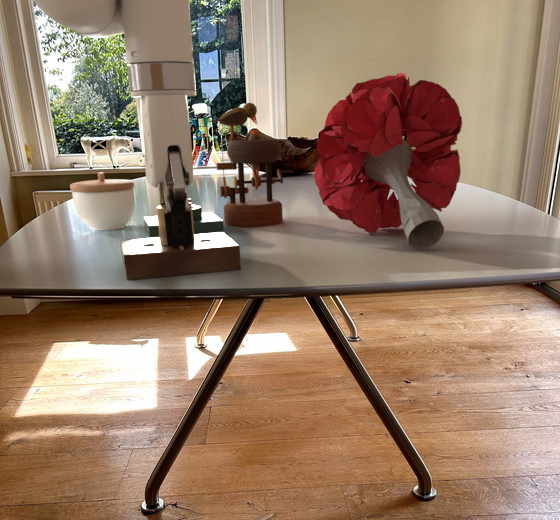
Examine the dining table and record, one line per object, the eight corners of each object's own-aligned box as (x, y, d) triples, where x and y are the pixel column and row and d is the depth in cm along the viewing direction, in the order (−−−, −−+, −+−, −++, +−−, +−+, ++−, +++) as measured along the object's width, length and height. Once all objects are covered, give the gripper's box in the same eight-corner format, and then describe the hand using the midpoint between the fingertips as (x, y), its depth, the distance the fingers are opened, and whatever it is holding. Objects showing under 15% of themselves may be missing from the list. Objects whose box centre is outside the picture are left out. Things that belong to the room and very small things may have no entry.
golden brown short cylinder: (162, 247, 74) (158, 207, 72) (158, 240, 78) (154, 202, 76) (197, 244, 75) (194, 204, 73) (192, 238, 79) (188, 200, 77)
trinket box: (94, 235, 99) (85, 176, 96) (66, 228, 107) (57, 173, 103) (150, 226, 106) (144, 171, 102) (120, 220, 113) (113, 168, 110)
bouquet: (482, 283, 91) (419, 167, 109) (534, 143, 72) (447, 30, 90) (344, 302, 89) (303, 181, 106) (361, 163, 70) (307, 44, 87)
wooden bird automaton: (227, 230, 100) (215, 100, 94) (209, 226, 110) (198, 108, 103) (309, 222, 105) (304, 98, 99) (285, 219, 115) (279, 106, 108)
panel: (127, 280, 71) (123, 253, 70) (122, 262, 80) (119, 239, 79) (240, 269, 75) (239, 244, 74) (224, 253, 84) (223, 230, 82)
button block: (150, 240, 95) (147, 214, 93) (144, 229, 103) (142, 206, 102) (224, 234, 98) (222, 209, 96) (212, 224, 106) (211, 201, 105)
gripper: (125, 87, 75) (142, 232, 83) (134, 78, 61) (154, 257, 68) (184, 86, 77) (196, 228, 85) (207, 78, 62) (219, 251, 70)
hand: (177, 239), depth 76 cm, fingers closed on golden brown short cylinder, 4 cm apart
